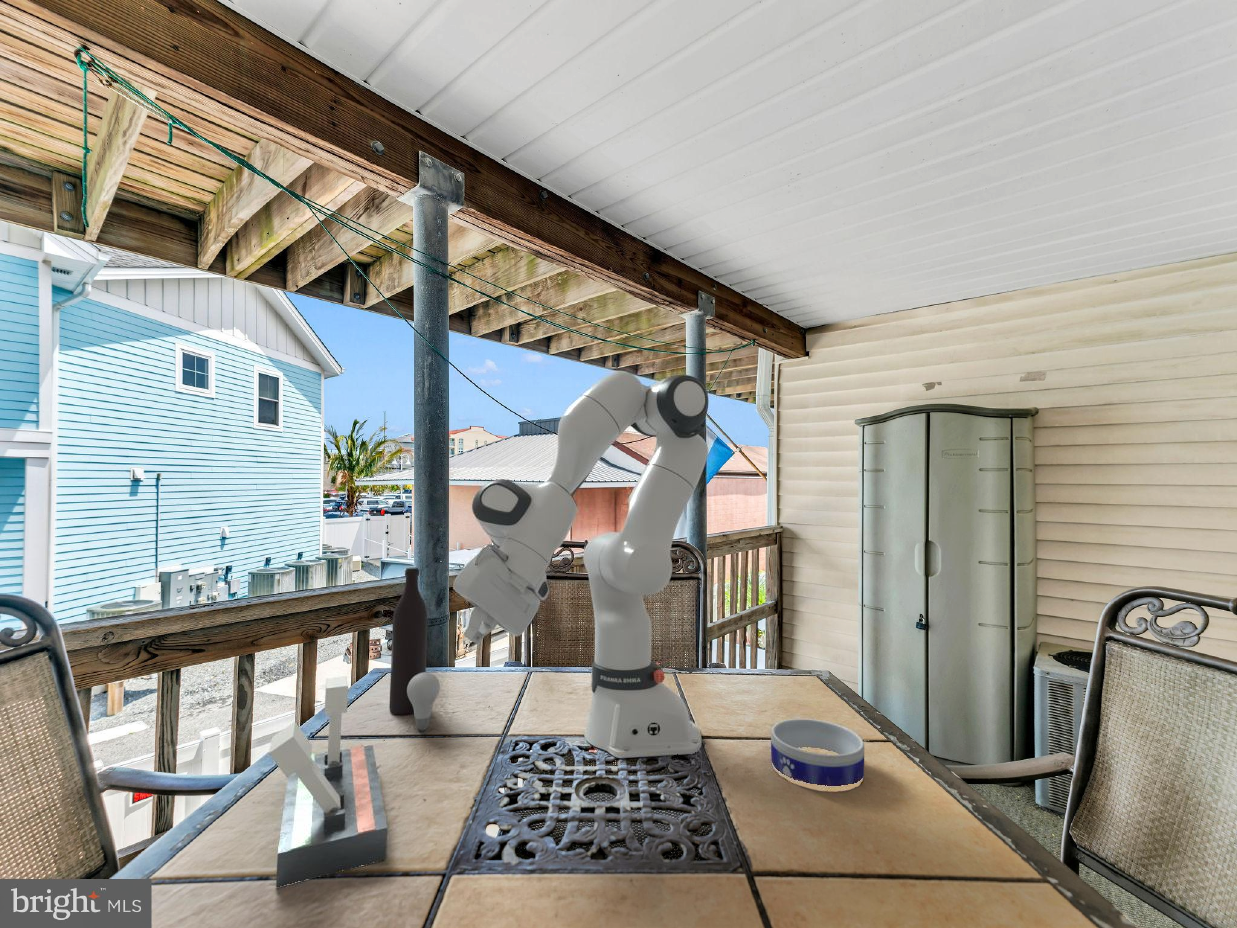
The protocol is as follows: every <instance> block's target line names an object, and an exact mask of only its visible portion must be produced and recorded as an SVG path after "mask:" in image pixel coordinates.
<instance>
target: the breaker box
mask: <svg viewBox="0 0 1237 928" xmlns="http://www.w3.org/2000/svg"><path fill="white" fill-rule="evenodd" d="M311 758H312V760H313V761H314V762H315V764H316V765H317V766H318V768H319V769H320V771H321V772H322V773H323V775H324V776H325V777H326V779H327V780H328V781H329V783H330V784H331V785H332V787H333V788H334V790H335V791H336V792H337V794H338V795H339V796H340V810H338V811H334V812H329V813H325V812H324V811H323V810H322V808H321V807H320V806H319V804H318V803H317V802H316V800H315V799H314V798H313V796H312V795H311V794H310V792H309V791H308V790H307V788H306V787H305V786H304V784H303V783H302V782H301V780H300V779H299V778H298V776H297V775H296V774H295V773H294V774H292V775H291V776H289V777H288V778H287V781H286V788H285V797H284V803H283V812H282V817H281V818H282V819H281V827H280V835H279V840H278V842H279V843H278V848H277V861H276V862H277V863H276V882H275V883H276V884H275V888H276V887H280V886H284V885H287V884H292V883H295V882H298V881H304V880H306V879H311V878H315V879H317V878H316V877H318V876H323V875H327V874H331V875H333V874H332V873H335V874H337V873H336V872H338V873H340V872H339V871H342V870H346V871H349V869H350V870H352V869H351V868H354V869H356V868H355V867H358V868H360V867H359V866H361V865H365V866H367V865H366V864H369V865H372V864H371V863H373V862H377V861H378V862H377V863H380V862H379V861H381V862H383V861H382V860H385V859H386V860H387V848H388V847H387V846H388V845H387V844H388V842H387V841H388V824H387V819H386V812H385V808H384V801H383V796H382V791H381V784H380V780H379V779H380V778H379V773H378V767H377V762H376V761H377V760H376V756H375V749H374V745H373V744H369V745H358V746H352V747H350V748H346V749H341V748H340V762H339V763H336V764H331V765H328V751H325V752H323V753H318V754H316V753H311ZM386 860H385V861H386ZM373 864H374V863H373ZM342 872H343V871H342ZM327 876H328V875H327ZM323 877H324V876H323ZM311 880H312V879H311ZM304 882H305V881H304ZM292 885H293V884H292ZM284 887H285V886H284Z"/></svg>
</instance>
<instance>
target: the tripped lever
mask: <svg viewBox="0 0 1237 928" xmlns="http://www.w3.org/2000/svg"><path fill="white" fill-rule="evenodd" d="M348 695H349V681H348V676H347V675H345V676H335V677H328V678H325V696H324V717H326V716H329V717H328V718H329V719H328V739H327V740H328V741H327V743H328V744H327V752H328V765H331V764H336V763H339V762H340V750H341V734H342V733H341V732H342V714H345V713H346V714H347V713H348V697H349V696H348Z"/></svg>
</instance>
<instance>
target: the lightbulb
mask: <svg viewBox="0 0 1237 928" xmlns="http://www.w3.org/2000/svg"><path fill="white" fill-rule="evenodd" d="M440 690H441V684H440V681H439V679H438V677H437V675H435V674H433V673H431V672H427V671H426V672H423V673H419V674H417V675H416V676H414V677H413V678H412V679H411V680H410V682H409V684H408V687H407V695H408V698H409V700H410V702H411V703H412V705H413V708H414V714H413V716H414V719H415V724H414V725H415V729H417V730H419V731H425V729H427V728H428V727H430V719H431V715H432V709H433V705H434V703H435V702H436V700H437V697H438V695H440V694H439V693H440Z"/></svg>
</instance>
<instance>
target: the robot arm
mask: <svg viewBox="0 0 1237 928" xmlns="http://www.w3.org/2000/svg"><path fill="white" fill-rule="evenodd" d="M708 410H709V394H708V390H707V388H706V387H705V385H704V383H703V382H702V381H701V380H700V379H698V378H696V377H695V376H692V375H688V374H676V375H675V374H674V375H671V376H669V377H667V378H664V379H661V380H658V381H657V382H654V383H652V384H651V385H645V384H643V383H642V382H641V381H640V379H639V378H638V377H636V376H635V375H634V374H633V373H631V372H628V371H625V370H616V371H613V372H611V373H610V374H608V375H606V376H605V377H603V378H602V379H600V380H599V381H597V382H595V383H594V384H593V385H591V386H590V387H589V388H588V389H586V391H584V392H583V393H582V394H581V395H580V396H578V397H577V398H576V400H575V401H573V402H572V403H571V404H570V405H569V406H568V407H567V409H566V410H565V412H564V413H563V415H562V416H561V418H560V420H559V422H558V426H557V456H556V459H555V465H554V467H553V469H552V471H551V473H550V474H549V476H548V477H546V479H545V481H544V482H542V483H539V484H538V483H537V484H529V483H519V482H515V481H514V482H513V481H511V480H509V479H506V478H503V479H502V478H499V479H495V480H491V481H489V482H487V483H485V484H484V485H482V486H481V487H480V489H478V491H476V493H475V496H474V497H473V500H472V504H471V509H472V513H473V515H474V517H475V519H476V521H477V522H478V523H479V525H480V526H481V527H482V529H483V530H484V532H485V533H486V535H487V536H488V537H489V538H490V540H491V542H492V543H491V544H490V543H489V544H486V545H484V546H483V547H482V548H480V549H481V550H479V552H477V553H476V554H475V555H474V556H473V557H472V558H471V559H470V560H469V561H468V562H467V563H466V564H465V566H464V567H463V568H462V569H461V570H460V572H459V573H458V575H457V576H456V578H455V579H454V581H453V584H452V585H453V586H452V589H453V590H454V591H455V592H456V593H457V594H458V595H460V596H461V597H462V598H464V599H465V601H467V602H469V603H470V604H471V605H472V606H473V607H474V608H473V609H472V611H471V613H470V616H469V622H468V626H467V628H466V629H465V631H464V632H463V636H464V637H466V638H467V639H468V640H470V641H471V642H473V643H474V644H476V645H480V644H481V643H482V641H483V640H484V638H485V636H487V635H489V634H490V633H491V632H492V631H494V630H495V628H496V627H497V626H499V627H500V628H501V629H502V630H504V631H505V632H507V633H509V634H510V635H512V636H514V637H519V636H521V635H522V634H523V633H525V631H526V630H527V628H528V627H529V625H530V624H531V622H532V621H533V619H534V618H535V615H536V614H537V612H538V610H539V609H540V605H541V601H545V600H546V599H547V598H548V596H549V594H550V588H549V584H548V580H547V573H546V571H547V569H548V567H549V565H550V563H551V561H552V557H553V554H554V553H555V552H556V551H557V550H558V549H559V548H560V547H561V546H562V545H563V543H564V541H565V539H566V538H567V536H568V534H569V532H570V531H571V529H572V527H573V525H574V522H575V520H576V518H577V516H578V511H579V508H578V505H577V502H576V500H575V498H574V495H575V494H576V492H577V491H578V490H579V489H580V487H581V486H582V485H583V484H584V482H586V480H587V479H588V477H589V476H590V473H591V472H592V471H593V469H594V467H595V466H596V465H597V463H598V462H599V460H600V459H601V458H602V457H603V455H604V454H605V453H606V451H607V450H608V449H609V448H610V447H611V446H612V445H613V443H614V442H615V441H616V440H618V438H620V437H621V436H622V434H623V433H624V432H626V430H627V429H628V428H629V427H631V428H633V430H635V431H636V432H638V433H639V434H641V435H642V436H646V437H650V438H651V437H652V438H656V443H655V444H656V445H655V448H654V450H653V454H652V456H651V457H650V459H649V460H648V462H647V464H646V466H645V467H644V469H643V471H642V473H641V474H640V477H639V478H638V480H637V481H636V484H635V485H634V487H633V489H632V491H631V492H630V495H629V497H628V501H627V502H628V511H627V515H626V519H625V522H624V525H623V528H622V529H621V531H620V532H617V531H608V532H604V533H601V534H597V535H596V536H594V537H592V538H591V539H590V540H589V541H588V542H587V544H586V546H585V547H584V550H583V557H582V558H583V559H582V560H583V564H584V567H585V569H586V572H587V576H588V582H589V589H590V596H591V601H592V608H593V613H594V614H593V615H594V616H593V617H594V659H593V660H592V664H591V672H590V673H591V674H590V677H591V678H590V680H591V681H590V687H591V691H592V697H591V703H590V711H589V715H588V720H587V724H586V728H585V730H584V735H583V736H584V739H585V740H586V741H587V742H588V743H589V744H590V745H591V746H593V747H596V748H598V749H600V750H603V751H606V752H608V753H609V754H610V755H611V756H613V757H615V758H617V759H624V758H625V759H626V758H641V757H642V758H643V757H645V758H646V757H659V756H660V757H661V756H674V755H677V754H678V755H689V754H690V755H692V754H696V753H698V752H699V751H700V750H701V747H702V744H703V742H702V734H701V733H702V732H701V731H700V729H699V727H698V726H697V724H696V723H694V722H693V721H692V720H691V719H690V714H689V711H688V707H687V705H686V703H685V701H684V700H683V699H682V697H681V696H680V695H679V694H677V693H675V691H673V690H672V689H671V688H670V687H668V686H667V685H665V683H663V682H664V681H665V678H666V677H665V672H664V671H663V670H662V667H661V666H660V664H659V663H658V661H656V662H654V661H653V660H652V620H651V617H650V614H649V613H648V611H647V609H646V605H645V601H644V597H643V596H652V595H655V594H658V593H660V592H662V590H664V588H666V587H667V585H668V584H669V582H670V580H671V577H672V573H673V562H672V561H673V560H672V558H671V550H672V544H673V540H674V536H675V532H676V529H677V526H678V524H679V522H680V519H681V517H682V515H683V513H684V511H685V509H686V507H687V505H688V503H689V501H690V499H691V497H692V495H693V494H694V492H695V489H696V487H697V485H698V483H699V481H700V479H701V477H702V473H703V471H704V468H705V466H706V462H707V458H708V455H709V447H708V445H707V442H706V440H705V439H704V438H703V437H702V436H701V435H700V433H702V431H703V430H704V429H705V427H706V416H707V414H708ZM540 600H541V601H540ZM695 752H696V753H695Z"/></svg>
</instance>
